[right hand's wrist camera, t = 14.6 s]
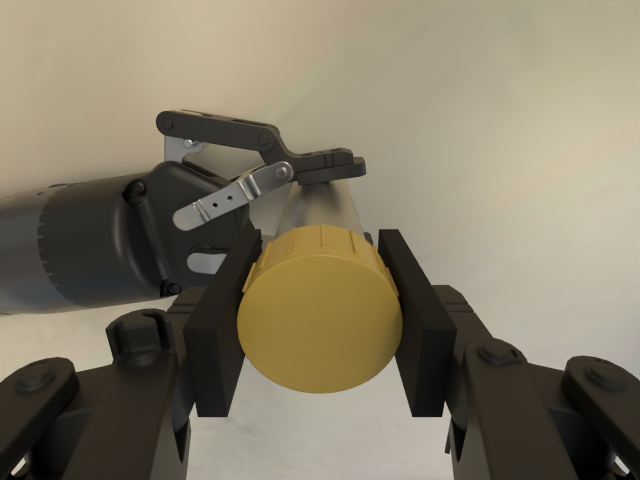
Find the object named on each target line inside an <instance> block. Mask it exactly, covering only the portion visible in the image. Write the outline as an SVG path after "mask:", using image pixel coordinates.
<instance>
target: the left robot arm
mask: <svg viewBox="0 0 640 480" xmlns="http://www.w3.org/2000/svg"><path fill="white" fill-rule="evenodd" d="M156 125H157V128H158V130H159V131H160V132H161V133H162V134H163V135H165V162H162V163H160V164H158V165H157V166H156V167H155V168H154V169H153V170H151V171H150V172H146V173H139V174H133V175H126V176H120V177H114V178H107V179H101V180H95V181H89V182H82V183H76V184H57V185H52V186H50V187H48V188H44V189H38V190H33V191H28V192H23V193H19V194H16V195H13V196H10V197H7V198H4V199H0V317H2V316H9V315H17V314H52V313H62V312H70V311H77V310H85V309H92V308H100V307H107V306H114V305H122V304H129V303H137V302H144V301H151V300H158V299H163V298H167V297H171V296H174V295H178V294H180V293H182V292H183V291H185V290H186V289H188V288H189V287H191V286H208V285H209V283H210V282H211V280H212V278H213V277H214V275H215V273H216V272H217V270H218V268H219V267H220V265H221V263H222V262H223V260H224V258H225V257H226V255H227V253H228V252H229V250H230V248H231V247H232V245H233V243H234V242H235V240H236V238H237V237H238V235H239V233H240V232H241V230H242V229H255V228H254V226H253V224H252V223H251V221H250V219H249V202H250V201H252V200H254V199H256V198H257V197H258V196H260V195H262V194H264V193H266V192H269V191H271V190H273V189H275V188H277V187H280V186H282V185H284V184H286V183H288V182H294V181H298V186H301V185H307V184H312V183H320V182H327V181H333V180H340V179H346V178H353V177H359V176H363V175H366V167H365V160H364V159H363V158H362V157H353V153H352V151H351V150H349V149H345V148H336V149H330V150H324V151H317V152H311V153H304V154H294V153H292V152H290V151H289V150H288V149H287V147H286V146H285V144H284V142H283V141H282V139H281V137H280V132H279V130H278V128H277V127H275V126H274V125H271V124H265V123H259V122H254V121H248V120H242V119H236V118H230V117H224V116H219V115H213V114H207V113H201V112H195V111H189V110H172V111H163V112H161V113H160V114H159V115H158V116H157V118H156ZM209 143H211V144H217V145H224V146H230V147H236V148H242V149H248V150H254V151H258V152H259V153H260V155H261V157H262V158H263V160H264V162H265V163H264V164H262V165H260V166H258V167H255V168H252V169H250V170H248V171H245V172H243V173H241V174H239V175H237V176H235V177H233V178H231V179H228V180H227V179H225V178H223V177H220V176H218V175H216V174H214V173H212V172H210V171H208V170H206V169H204V168H202V167H200V166H198V165H196V164H194V163H192V162H190V161H187V160H188V156H189V155H190V154H191V153H198V152H201V151H203V150H205V149H206V148H207V147H208V144H209ZM363 234H364V237H365V240H366V241H367V242H369V243H370V244H371V245H372V246H373V240H372V238H371V235H370V233H367V232H363ZM274 240H275V238H274V237H271V236H263V235H261V242H262V252H263V251H264V250H265V248H266V247H267V244H268V242H269V241H270V242H273V241H274Z"/></svg>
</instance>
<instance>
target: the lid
mask: <svg viewBox="0 0 640 480" xmlns="http://www.w3.org/2000/svg"><path fill="white" fill-rule="evenodd" d="M242 292H244V295H243V298H242V300H241V303H240V306H239V310H238V314H237V329H238V337H239V341H240V344H241V347H242V349H243V351H244V353H245V355H246V356H247V358H248V359H249V361H250V362H251V363H252V365H253V366H254V367H255V368H256V369H257V370H258V371H259V372H261V373H262V374H263V375H264V376H266V377H267V378H269V379H270V380H272V381H273V382H275V383H277V384H279V385H281V386H284V387H287V388H289V389H292V390H296V391H301V392H307V393H333V392H339V391H344V390H347V389H351V388H353V387H356V386H358V385H361V384H363V383H365V382H366V381H368V380H370V379H371V378H373V377H374V376H376V375H377V374H378V373H379V372H380V371H382V370H383V369H384V368H385V367H386V365H387V364H388V363H389V362H390V361H391V359H392V358H393V356H394V355H395V353H396V351H397V349H398V347H399V344H400V341H401V336H402V327H403V315H402V309H401V306H400V303H399V300H398V297H400V295H399V293H398V290H397V288H396V285H395V283H394V280H393V278H392V275H391V273H390V271H389V268H388V267H387V268H386V267H385V264H384V262H383V260H382V258H381V257H380V255H379V254H378V251H377V248H376V246H375V245H373V246H372V245H371V244H370V243H369V242H367V241H366V240H365V239H364V238H362V237H361V236H359V235H357V234H356V233H354V231H353V230H351V229H350V231H349V230H347V229H343V228H340V227H336V226H330V225H325V223H321V225H309V226H304V227H299V228H295V227H294V228H292V230H291V231H289V232H287V233H285V234H283V235H281V236H279V237H278V238H276V239H275V240H274V241H273V242H270V241H269V242H268V244H267V247H266V248H265V250H264V251H263V252H262V253H261V255H260V257H259V258H258V260H257V262H256V263H253V265H252V268H251V270H250V273H249V275H248V277H247V280H246V282H245V285H244V287H243V290H242Z"/></svg>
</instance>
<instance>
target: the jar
mask: <svg viewBox="0 0 640 480" xmlns="http://www.w3.org/2000/svg"><path fill="white" fill-rule="evenodd" d="M321 223H325V225H330V226H336V227H340V228H343V229H347V230H349V231H350V229H351V230H353V231H354V233H356V234H357V235H359V236H361V237H362V238H364V239H365V237H364V234H363V231H362V227H361V224H360V221H359V218H358V215H357V212H356V209H355V206H354V203H353V200H352V197H351V193H350V190H349V187H348V184H347V181H346V179H340V180H333V181H327V182H320V183H312V184H307V185H301V186H298V181H294V182H293V184H292V187H291V190H290V193H289V196H288V199H287V202H286V206H285V209H284V212H283V215H282V218H281V221H280V224H279V227H278V230H277V233H276V236H275V239H276V238H278V237H279V236H281V235H283V234H285V233H287V232H289V231H291V230H292V228H294V227H295V228H299V227H304V226H309V225H321Z"/></svg>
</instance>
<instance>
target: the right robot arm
mask: <svg viewBox="0 0 640 480" xmlns="http://www.w3.org/2000/svg"><path fill="white" fill-rule="evenodd" d="M261 253H262V242H261V229H242V230H241V232H240V233H239V235H238V237H237V238H236V240H235V242H234V243H233V245H232V247H231V248H230V250H229V252H228V253H227V255H226V257H225V258H224V260H223V262H222V263H221V265H220V267H219V268H218V270H217V272H216V273H215V275H214V277H213V278H212V280H211V282H210V283H209V285H208V286H191V287H189V288H188V289H186V290H185V291H183V292H182V293H180V294H179V295H178V296H177V298H176V299H175V301H174V302H173V303H172V306H170V308H169V309H168V310H167V312H165V311H164V310H160V309H141V310H137V311H132V312H130V313H127V314H125V315H122V316H120V317H119V318H117V319H116V320H114V321H113V322H111V323H110V324H109V326H108V327H107V328H106V329H105V330H106V334H107V337H108V341H109V345H110V348H111V352H112V355H113V359H114V360H113V362H112V364H111V365H107V366H103V367H99V368H94V369H89V370H85V371H80V372H76V371H75V368H74V365H73V363H72V362H71V361H70V360H69V359H67V358H60V357H55V358H47V359H42V360H39V361H35V362H33V363H30V364H28V365H26V366H24V367H22V368H20V369H18V370H16V371H15V372H14V373H12V374H11V375H9V376H8V377H7V378H5V379H4V380H3V381H2V382H1V383H0V480H186V475H187V465H188V456H189V447H190V438H191V427H190V421H189V415H190V412H191V410H192V408H193V405H194V403H195V404H196V409H197V415H198V417H227V416H228V413H229V410H230V406H231V403H232V399H233V396H234V392H235V389H236V385H237V382H238V379H239V375H240V372H241V368H242V365H243V361H244V358H245V353H244V351H243V349H242V347H241V344H240V341H239V337H238V329H237V314H238V310H239V306H240V303H241V300H242V298H243V295H244V292H242V290H243V287H244V285H245V282H246V280H247V277H248V275H249V273H250V270H251V268H252V265H253V263H256V262H257V260H258V258H259V257H260V255H261ZM378 254H379V255H380V257H381V258H382V260H383V262H384V264H385V267H386V268H387V267H388V268H389V271H390V273H391V275H392V278H393V280H394V283H395V285H396V288H397V290H398V293H399V295H400V297H398V300H399V303H400V306H401V309H402V315H403V327H402V336H401V341H400V344H399V347H398V349H397V351H396V353H395V359H396V362H397V365H398V369H399V372H400V376H401V379H402V383H403V386H404V390H405V393H406V396H407V400H408V403H409V407H410V410H411V414H412V417H442V414H443V408H444V403H445V401H446V404H447V406H448V409H449V411H450V414H451V421H450V426H449V431H448V436H447V442H446V447H445V453H447V454H449V453H450V448H451V455H452V465H453V474H454V480H640V381H639V380H638V379H637V378H636V377H635V376H633V375H632V374H630V373H629V372H628V371H626V370H625V369H623V368H622V367H619V366H617V365H615V364H613V363H612V362H610V361H607V360H604V359H600V358H596V357H590V356H576V357H572V358H571V359H570V360H568V361H567V364H566V367H565V370H564V371H562V370H558V369H553V368H548V367H544V366H539V365H535V364H531V363H528V362H527V359H526V358H525V357H524V355H523V354H522V352H521V351H519V350H518V349H517V348H515V347H514V346H513V345H511V344H509V343H507V342H505V341H503V340H500V339H496V338H493V337H492V335H491V334H490V333H489V331H488V330H487V328H486V327H485V326H484V324H483V323H482V322H481V320H480V319H479V317H478V316H477V315H476V313H474V310H473V309H472V308H471V306H470V305H468V302H467V301H466V299H465V298H464V297H463V295H462V294H461V293H460V292H458V291H457V290H455V289H454V288H452V287H451V286H449V285H431V284H430V282H429V280H428V279H427V277H426V275H425V274H424V272H423V270H422V269H421V267H420V265H419V264H418V262H417V260H416V259H415V257H414V255H413V254H412V252H411V250H410V249H409V247H408V245H407V244H406V242H405V240H404V239H403V237H402V235H401V234H400V232H399V230H398V229H379V239H378ZM616 456H618V457H619V458H620V460H621V461H622V462H623V463H624V464H625V466H626V467H627V468H628V469H629V470H630V471H629V473H628V474H626V473H625V472H624V471H623V470H622V469H621V468H620V467H619V466H618V465H617V463H616V462H615V459H616ZM23 457H24V459H25V462H26V463H25V464H24V465H23V466H22V468H21V469H20V470H19V471H18V472H17V473H16V474H15V475H12V474H11V472H12V470H13V469H14V468H15V467H16V466H17V464H18V463H19V462H20V461H21V460H22V458H23Z"/></svg>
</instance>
